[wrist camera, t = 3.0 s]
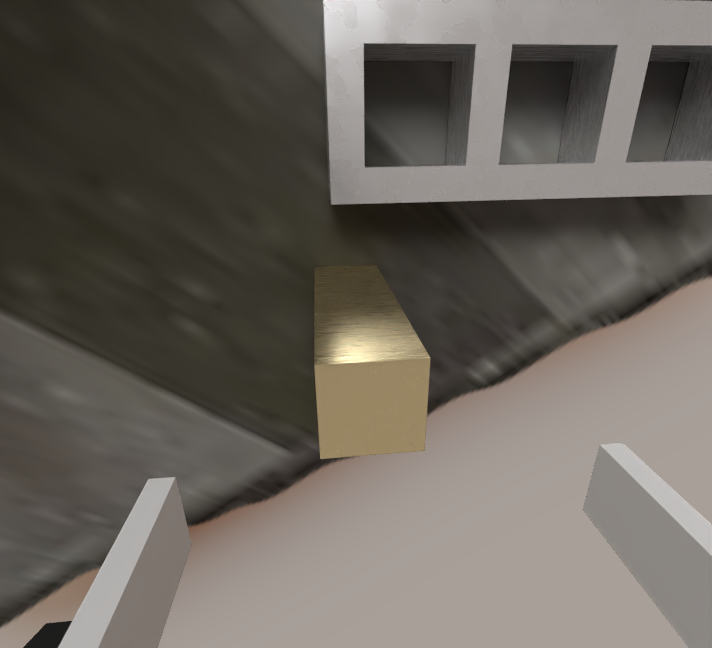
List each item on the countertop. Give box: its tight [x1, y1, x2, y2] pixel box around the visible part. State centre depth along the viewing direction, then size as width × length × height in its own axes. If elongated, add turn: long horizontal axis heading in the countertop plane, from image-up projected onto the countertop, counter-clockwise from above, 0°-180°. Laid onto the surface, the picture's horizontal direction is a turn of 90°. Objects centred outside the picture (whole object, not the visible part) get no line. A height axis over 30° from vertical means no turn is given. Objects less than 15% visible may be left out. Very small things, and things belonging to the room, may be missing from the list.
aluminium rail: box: [322, 0, 712, 205], centre depth 25 cm, size 26×10×4 cm, turn 91°
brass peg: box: [314, 265, 430, 459], centre depth 23 cm, size 4×4×15 cm
